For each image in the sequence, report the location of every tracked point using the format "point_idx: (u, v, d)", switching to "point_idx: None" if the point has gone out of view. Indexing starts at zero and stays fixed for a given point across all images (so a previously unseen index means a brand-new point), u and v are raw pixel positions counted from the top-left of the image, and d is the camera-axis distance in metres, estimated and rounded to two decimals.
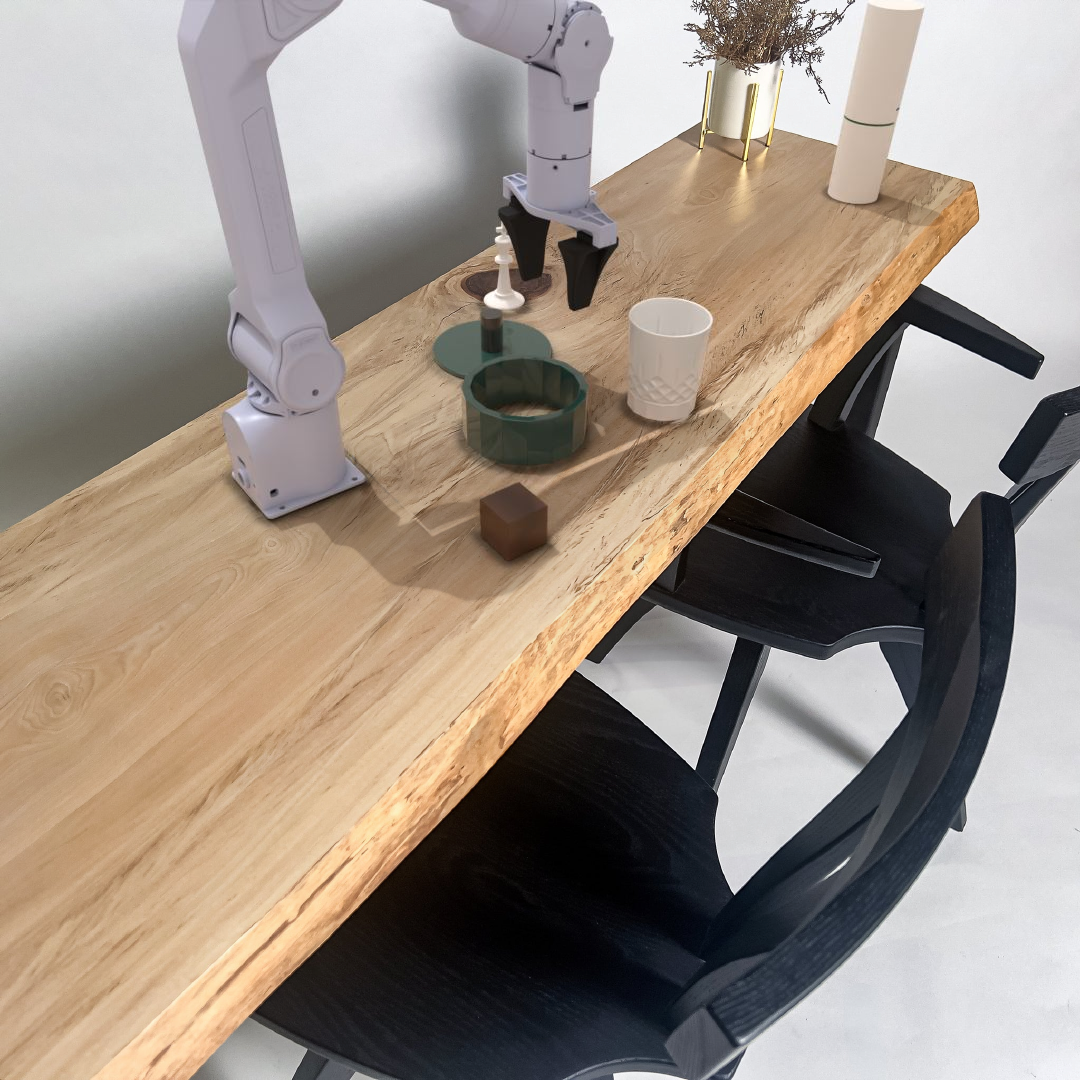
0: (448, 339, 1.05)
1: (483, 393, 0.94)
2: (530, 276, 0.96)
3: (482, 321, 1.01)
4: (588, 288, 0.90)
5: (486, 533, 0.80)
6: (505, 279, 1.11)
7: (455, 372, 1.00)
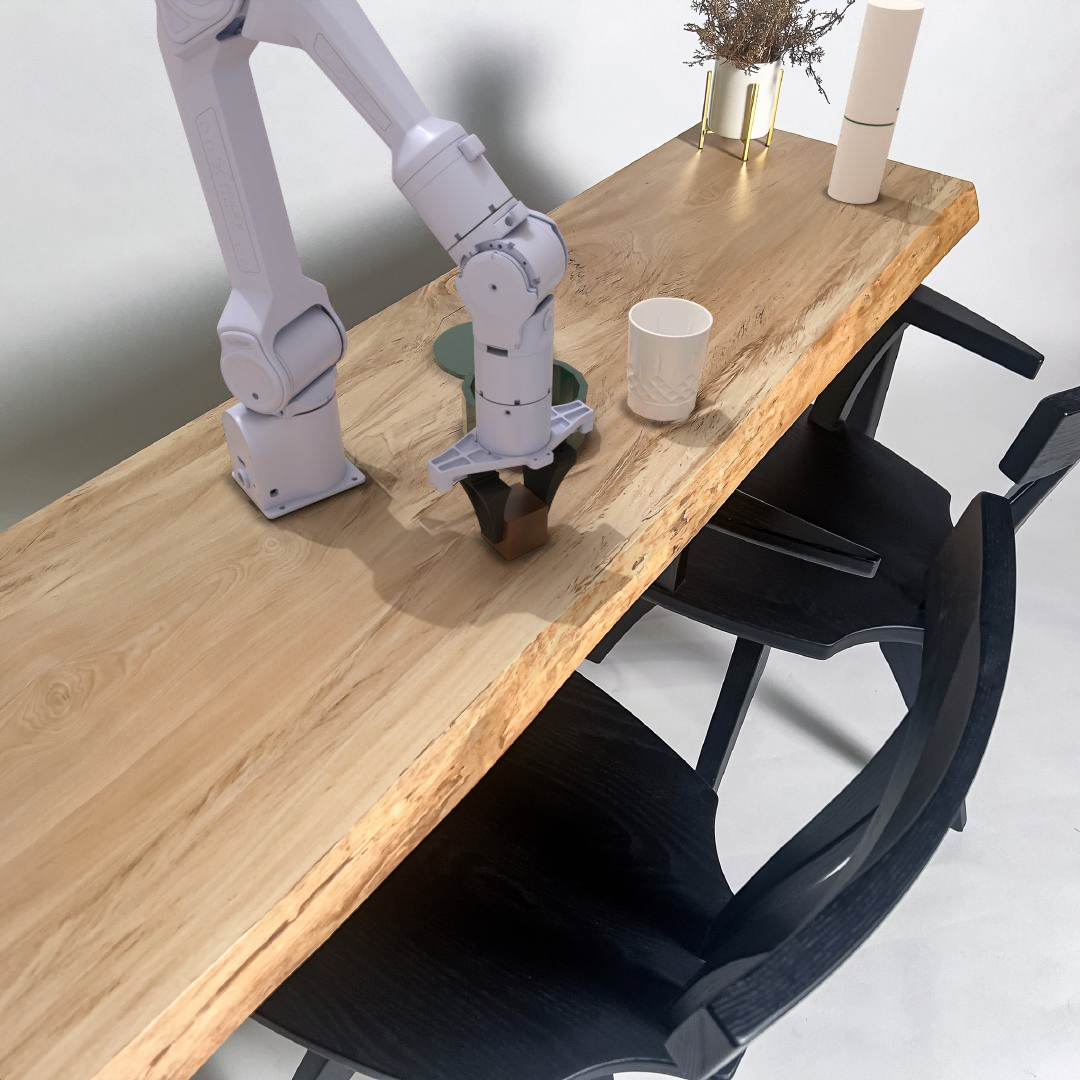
0: (448, 339, 1.05)
1: None
2: None
3: None
4: (489, 523, 0.77)
5: None
6: None
7: (455, 372, 1.00)
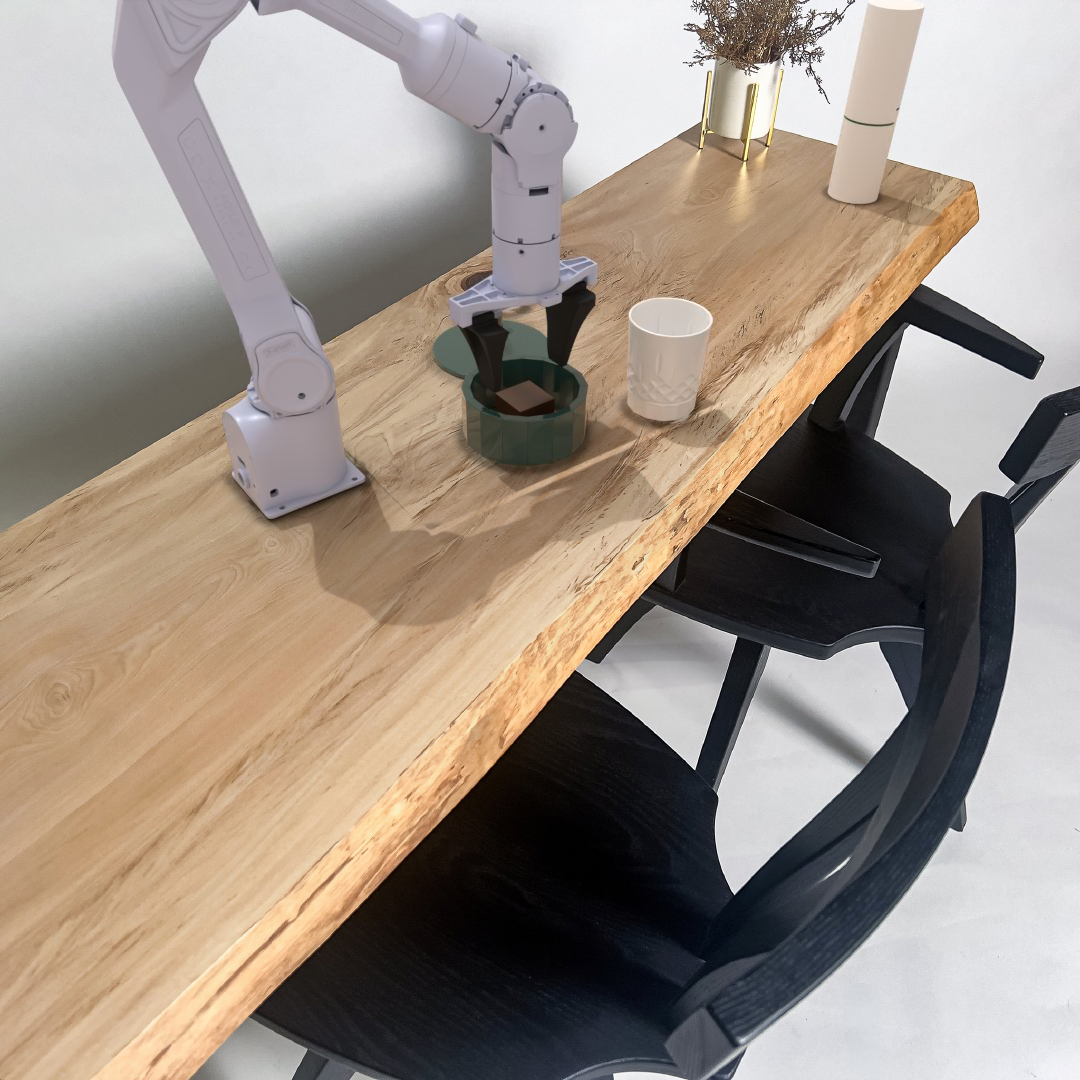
0: (448, 339, 1.05)
1: (483, 393, 0.94)
2: (552, 357, 0.90)
3: None
4: (489, 371, 0.85)
5: None
6: None
7: (455, 372, 1.00)
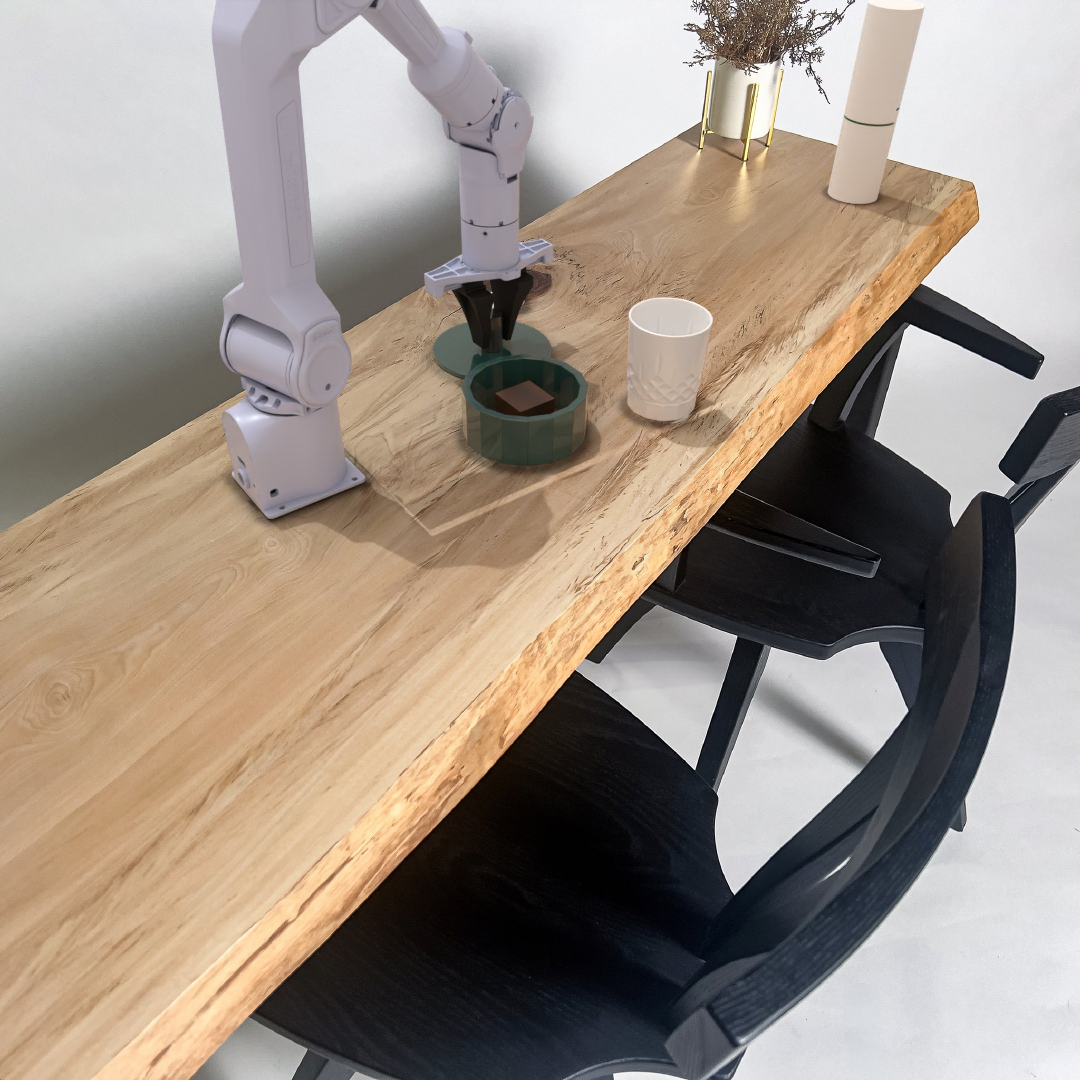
0: (448, 339, 1.05)
1: (483, 393, 0.94)
2: None
3: None
4: (479, 330, 1.01)
5: None
6: None
7: (455, 372, 1.00)
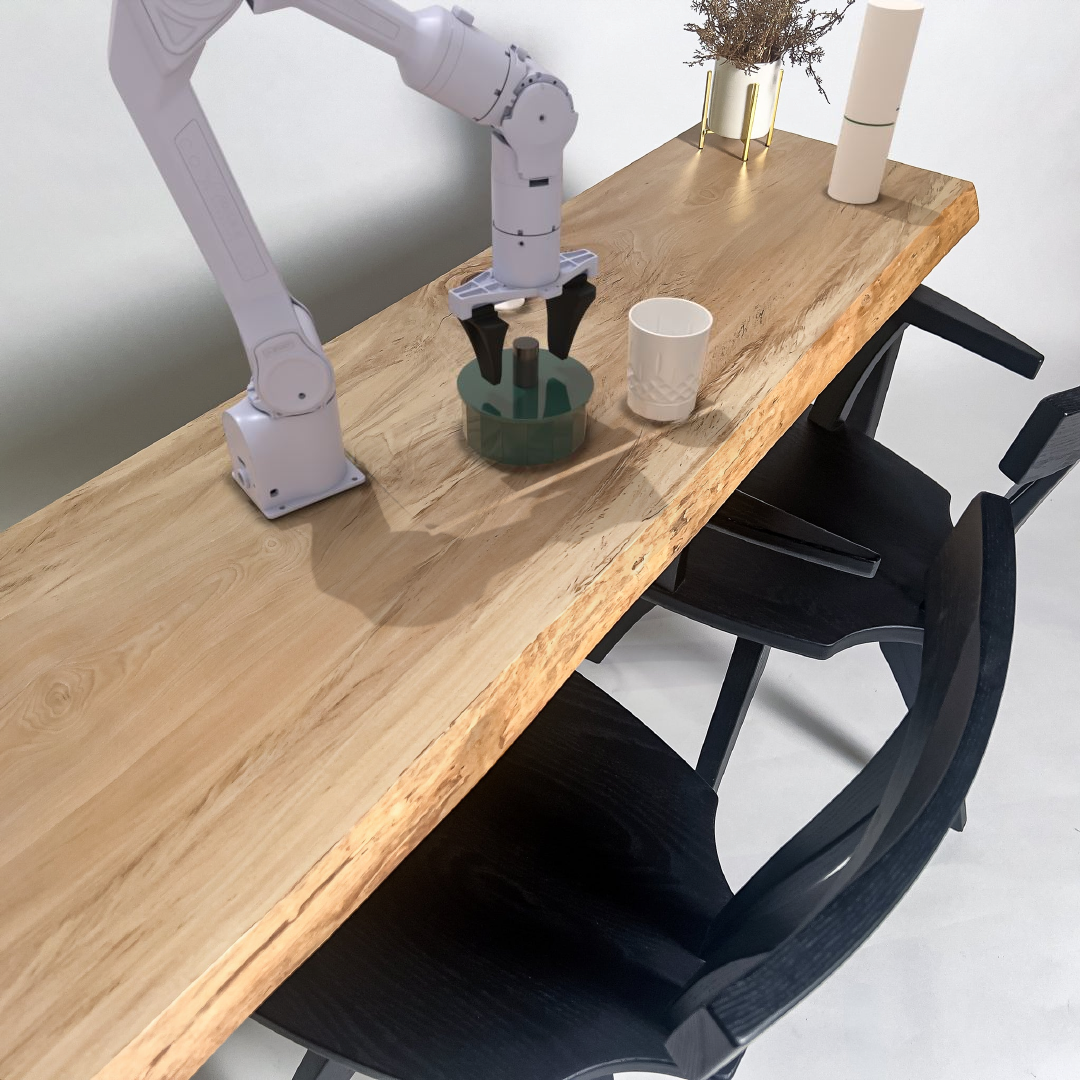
0: (474, 371, 0.90)
1: None
2: (553, 350, 0.90)
3: (515, 352, 0.86)
4: (489, 364, 0.85)
5: None
6: None
7: (484, 412, 0.85)
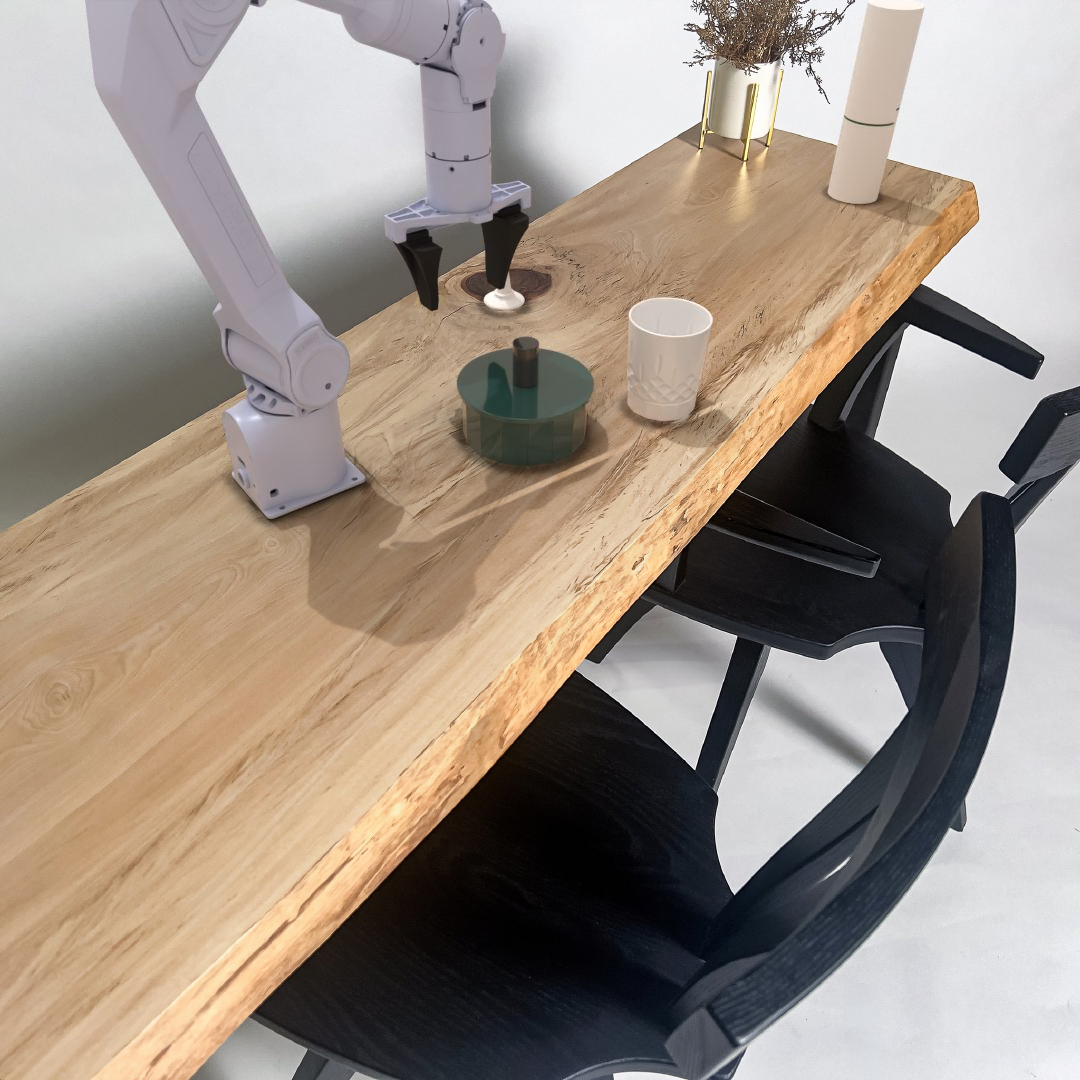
0: (474, 371, 0.90)
1: None
2: (491, 281, 0.94)
3: (515, 352, 0.86)
4: (426, 290, 0.89)
5: None
6: None
7: (484, 412, 0.85)
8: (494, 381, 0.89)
